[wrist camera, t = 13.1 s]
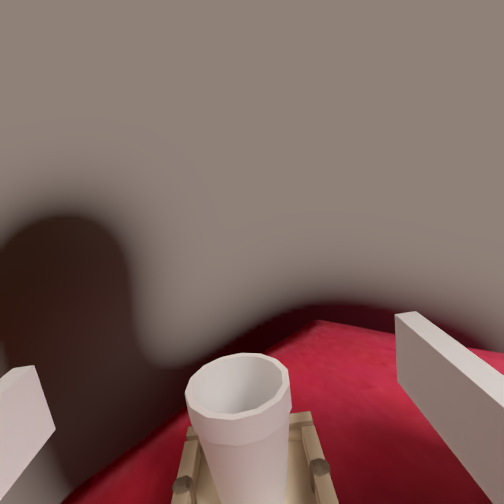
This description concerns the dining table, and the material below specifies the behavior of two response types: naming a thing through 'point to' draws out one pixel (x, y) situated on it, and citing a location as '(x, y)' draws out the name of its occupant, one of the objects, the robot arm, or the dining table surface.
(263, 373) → the foam cup
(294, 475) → the cradle
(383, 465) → the dining table surface
